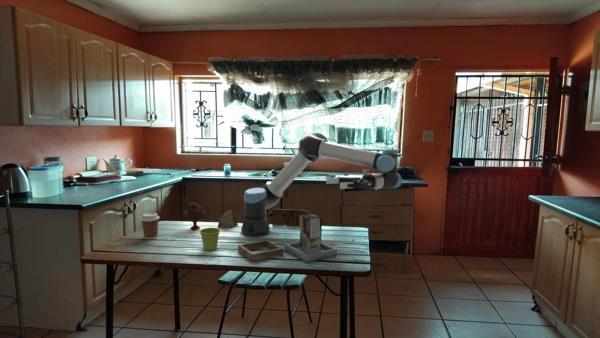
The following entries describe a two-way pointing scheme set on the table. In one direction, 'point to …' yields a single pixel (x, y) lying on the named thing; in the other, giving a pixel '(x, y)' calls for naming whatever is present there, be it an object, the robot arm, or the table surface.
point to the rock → (228, 220)
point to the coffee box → (310, 233)
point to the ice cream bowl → (194, 214)
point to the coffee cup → (150, 225)
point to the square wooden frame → (261, 255)
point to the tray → (325, 253)
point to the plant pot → (210, 238)
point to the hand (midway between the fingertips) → (333, 183)
